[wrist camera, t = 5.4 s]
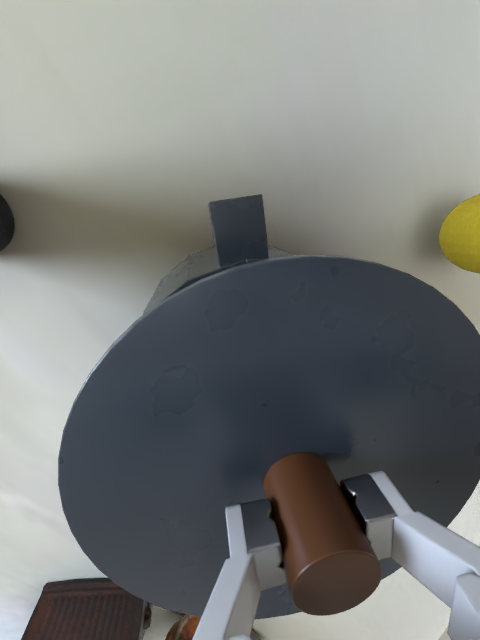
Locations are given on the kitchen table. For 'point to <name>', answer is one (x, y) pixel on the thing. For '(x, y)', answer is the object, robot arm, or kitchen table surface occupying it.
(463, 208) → the lemon
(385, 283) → the lid
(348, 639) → the kitchen table surface
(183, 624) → the tin
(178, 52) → the kitchen table surface
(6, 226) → the drinking cup
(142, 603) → the manual coffee grinder
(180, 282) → the pot
